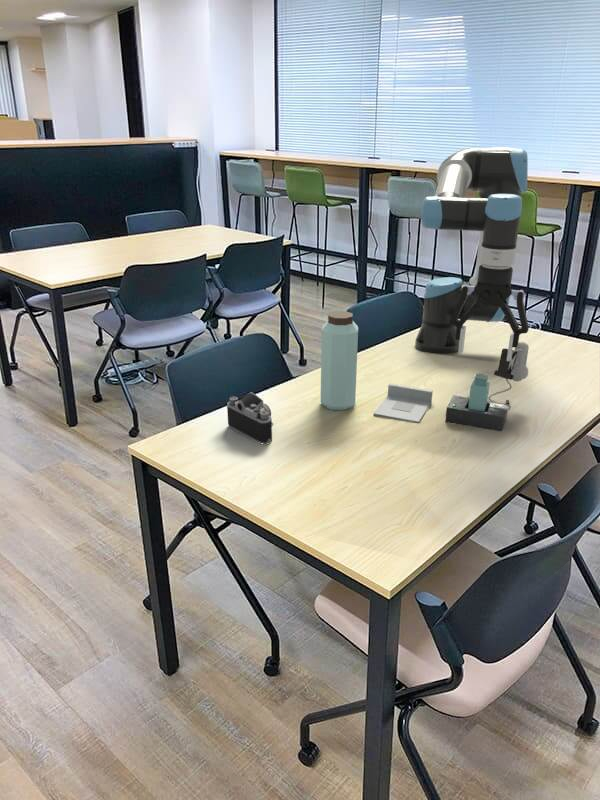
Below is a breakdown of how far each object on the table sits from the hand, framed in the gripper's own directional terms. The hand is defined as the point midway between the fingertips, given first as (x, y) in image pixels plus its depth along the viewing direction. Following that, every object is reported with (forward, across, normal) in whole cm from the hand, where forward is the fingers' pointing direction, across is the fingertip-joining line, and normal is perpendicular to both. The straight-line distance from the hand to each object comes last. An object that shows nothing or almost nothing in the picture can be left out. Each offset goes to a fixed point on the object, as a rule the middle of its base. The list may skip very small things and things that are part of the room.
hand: (484, 355), depth 154 cm
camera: (+18, -49, -27) cm, 59 cm away
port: (+18, 0, 0) cm, 18 cm away
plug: (+17, 0, 0) cm, 17 cm away
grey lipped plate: (+18, -19, 0) cm, 26 cm away
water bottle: (+18, -36, -4) cm, 41 cm away
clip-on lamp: (+18, +6, +12) cm, 22 cm away
